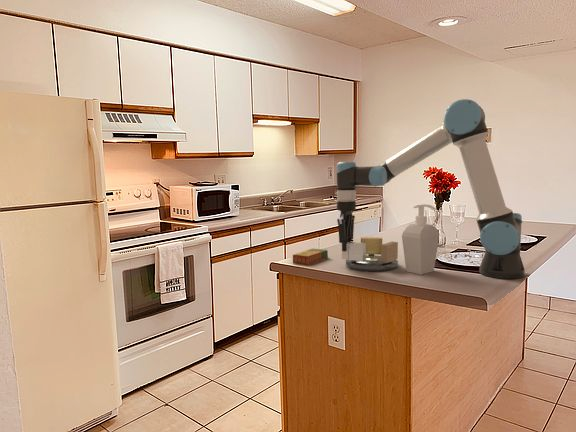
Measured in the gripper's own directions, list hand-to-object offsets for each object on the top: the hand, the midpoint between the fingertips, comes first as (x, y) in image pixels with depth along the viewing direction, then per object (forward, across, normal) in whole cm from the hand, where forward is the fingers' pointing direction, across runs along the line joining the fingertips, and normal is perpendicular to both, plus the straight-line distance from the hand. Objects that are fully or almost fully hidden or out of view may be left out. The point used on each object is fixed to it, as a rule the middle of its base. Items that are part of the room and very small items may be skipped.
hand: (346, 258), depth 182 cm
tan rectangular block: (+1, -4, +16) cm, 17 cm away
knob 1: (+1, 0, +3) cm, 4 cm away
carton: (+4, -4, -18) cm, 19 cm away
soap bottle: (+4, -4, +29) cm, 30 cm away
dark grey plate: (+3, -6, +9) cm, 11 cm away
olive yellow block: (+1, -13, +6) cm, 15 cm away
